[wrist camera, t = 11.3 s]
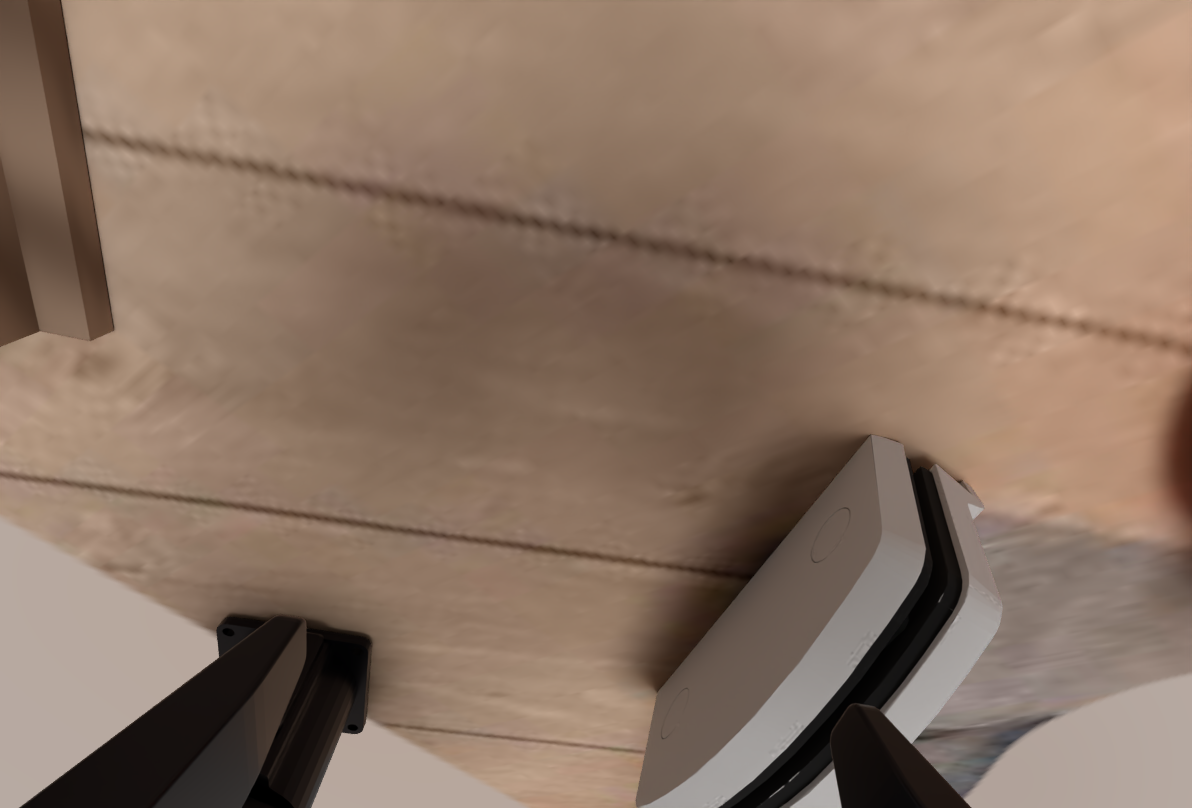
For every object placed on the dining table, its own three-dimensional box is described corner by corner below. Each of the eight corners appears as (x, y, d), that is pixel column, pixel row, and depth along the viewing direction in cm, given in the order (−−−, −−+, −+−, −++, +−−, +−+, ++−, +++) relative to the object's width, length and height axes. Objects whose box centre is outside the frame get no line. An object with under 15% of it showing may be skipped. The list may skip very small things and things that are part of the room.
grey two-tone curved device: (741, 725, 29) (721, 957, 20) (661, 671, 29) (606, 873, 20) (978, 479, 22) (1116, 662, 13) (869, 414, 23) (926, 546, 13)
